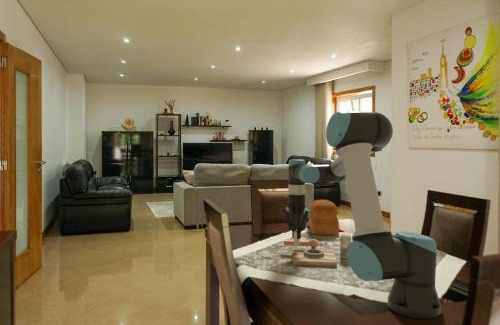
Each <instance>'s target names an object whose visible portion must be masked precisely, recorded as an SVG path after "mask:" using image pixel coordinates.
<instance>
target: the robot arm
mask: <svg viewBox="0 0 500 325" xmlns="http://www.w3.org/2000/svg"><path fill="white" fill-rule="evenodd" d="M393 129H394V128H393V125H392V123H391V120H390V119H389V118H388V117H387V116H386V115H384V114H382V113H381V112H378V111H353V110H352V111H351V110H345V111H343V110H341V111H336V112H334V113H333V114H332V115H331V116H330V119H328V122H327V126H326V129H325V130H326V131H325V138H326V142H327V144H328V145H329V147H332V148H335V154H336V156H337V157H336V158H335V159H334V160H333V161H332V162H331V163H330V164H306V161H305V159H294V158H293V159H289V160H288V167H287V169H288V171H287V172H288V173H287V174H288V179H287V180H288V185H287V187H288V195H287V196H288V197H287V199H288V204H287V207H284V208H283V209H282V210H283V212H284V214H285V219H286V223H287V224H286V225H287V229H288V230H291V232H292V234H291V237H292V239H293V240H294V246H293V247H300V246H299V240H302V239H301V238H302V232H303V231H305V230H306V228H307V222H308V220H309V215H310V213H311V209H308V208H307V206H306V184H315V183H340V182H341V183H342V182H345V181H346V186H347V190H348V195H349V201H350V207H351V214H352V217H353V222H354V227H355V231H354V233H353V234H352V235H351V243H350V244H349V246H348V251H347V257H348V259H347V261H348V264H349V267H350V269H351V271H352V272H353V273H354V275H355V276H356V277H357V278H358V279H360V280H362V281H364V282H379V281H386V280H393V283H392V286H391V288H390V291H389V292H388V293H389V294H388V296H387V306H388V308H389V309H390V310H392V311H393V312H394V313H396V314H399V315H401V316H404V317H408V318H413V319H417V320H418V319H421V320H430V319H435V318H438V317H439V316H440V315H441V314H442V312H441V311H442V306H441V301H440V298H439V296H438V292H437V289H436V273H437V272H436V270H437V254H438V252H437V242H436V240H435V239H434V238H432V237H430V236H427V235H423V234H420V233H417V232H416V233H415V232H409V231H397V232H395V235H394V237H395V238H393V235H392V231H391V230H390V229H388V228H387V227H386V226H385V222H384V218H383V213H382V208H381V202H380V199H379V194H378V189H377V185H376V180H375V179H376V178H375V175H374V170H373V166H372V160H371V157H370V156H371V155H372V154H373V153H378V152H380V151H381V150H382V149H384V148H386V146H388V144H389V143H390V142H391V140H392V138H393V134H394V132H393V131H394V130H393Z"/></svg>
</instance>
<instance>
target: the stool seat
mask: <svg viewBox="0 0 500 325" xmlns="http://www.w3.org/2000/svg"><path fill="white" fill-rule="evenodd" d="M292 253H293V255H292V265H293V266H302V267H303V266H307V267H326V268H337V267H338V261H337V258H336V254H335V250H334V249H320V248H318V249H317V248H316V247H311V246H310V248H293V252H292Z"/></svg>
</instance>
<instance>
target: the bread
mask: <svg viewBox="0 0 500 325" xmlns="http://www.w3.org/2000/svg"><path fill="white" fill-rule="evenodd" d="M310 211H311V212H310V213H309V215H308V226H309V229H310V231H311V233H312V234H313V235H317V236H335V235H338V234H339V233H340V223H339V218H338V212H339V211H338V207H337V206H336V204H335V203H334V202H332V201H330V200H328V199H315V200H314V201H312V202H311V204H310Z"/></svg>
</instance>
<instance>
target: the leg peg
mask: <svg viewBox="0 0 500 325" xmlns="http://www.w3.org/2000/svg"><path fill="white" fill-rule="evenodd" d="M339 242H340V243H339V244H340V253H339V254H340V255H339V257H341V258H340V259H342V258H343V260H348V257H347V251H348V246H349V244H350V243H351V242H352V235H351V234H348V233H347V234H345V233H342V234H340V241H339Z"/></svg>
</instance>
